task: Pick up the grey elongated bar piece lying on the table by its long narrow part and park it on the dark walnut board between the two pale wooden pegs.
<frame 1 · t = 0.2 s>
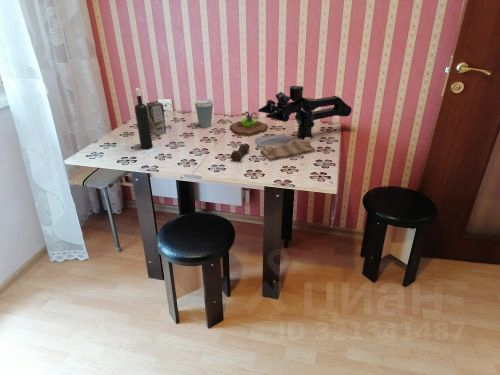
hand: (262, 113, 184), 16 cm above the table, tool horizontal, fingers open, 9 cm apart
disposable coffee cup: (205, 126, 217), on the table
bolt: (241, 156, 181), on the table
grey elongated bar piece: (271, 142, 194), on the table
wine bottle: (147, 147, 190), on the table
plant: (248, 130, 211), on the table
peg rack: (287, 152, 183), on the table
coffee box: (158, 132, 209), on the table
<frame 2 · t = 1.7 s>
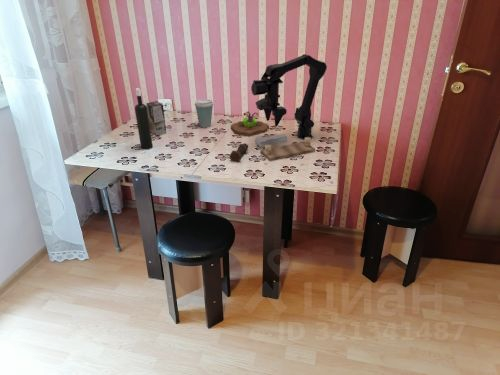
hand: (272, 123, 189), 10 cm above the table, tool pointing down, fingers open, 9 cm apart
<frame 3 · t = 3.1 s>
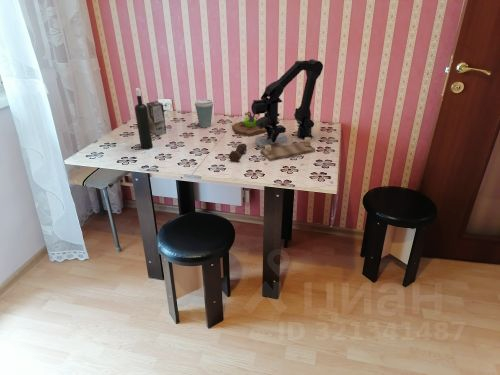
hand: (271, 140, 193), 1 cm above the table, tool pointing down, fingers closed on grey elongated bar piece, 4 cm apart
grey elongated bar piece: (271, 142, 194), on the table, touching gripper
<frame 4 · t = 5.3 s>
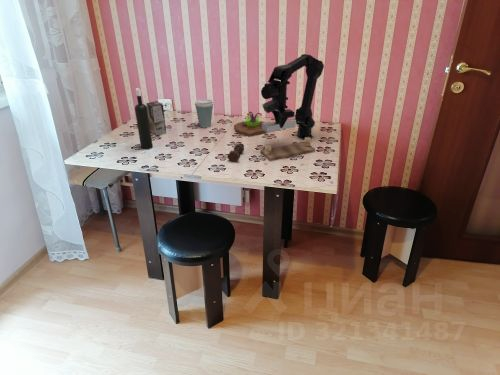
hand: (279, 126, 183), 11 cm above the table, tool pointing down, fingers closed on grey elongated bar piece, 4 cm apart
grey elongated bar piece: (279, 128, 184), point 10 cm above the table, touching gripper
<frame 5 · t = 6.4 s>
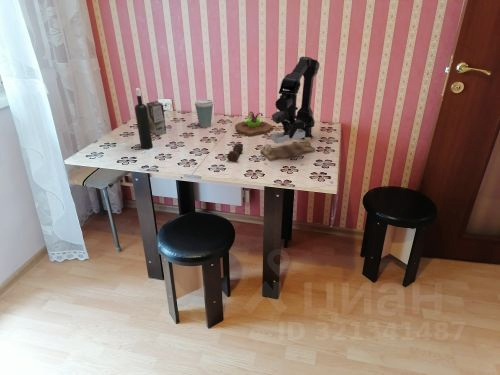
hand: (288, 136, 179), 8 cm above the table, tool pointing down, fingers closed on grey elongated bar piece, 4 cm apart
grey elongated bar piece: (288, 138, 179), point 7 cm above the table, touching gripper
when the fingers open (3 cm above the table, at t = 7.5 s): grey elongated bar piece stays where it is, resting on peg rack.
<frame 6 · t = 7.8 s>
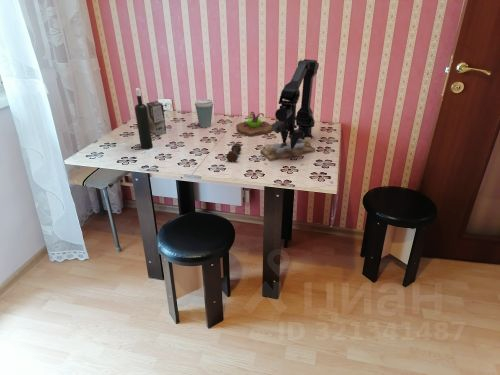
hand: (288, 145, 181), 3 cm above the table, tool pointing down, fingers open, 7 cm apart
grey elongated bar piece: (287, 149, 182), point 1 cm above the table, touching peg rack
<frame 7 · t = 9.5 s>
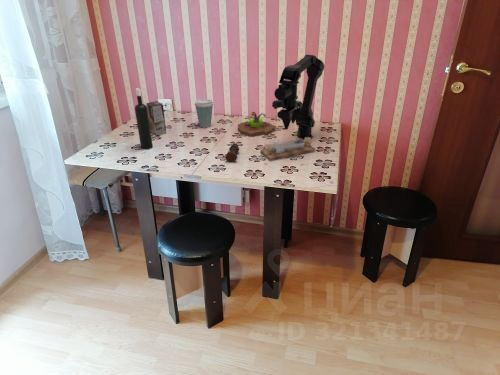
hand: (289, 126, 183), 11 cm above the table, tool pointing down, fingers open, 9 cm apart
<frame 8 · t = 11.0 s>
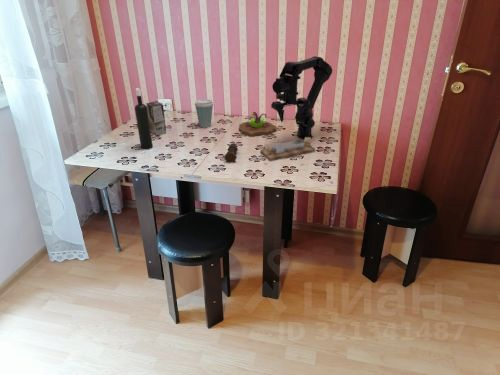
hand: (289, 120, 188), 12 cm above the table, tool pointing down, fingers open, 9 cm apart
at the end: grey elongated bar piece inside the target area on the peg rack (0.0 cm from its centre), point 1.5 cm above the peg rack's base; grey elongated bar piece touching peg rack; the gripper is holding nothing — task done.
